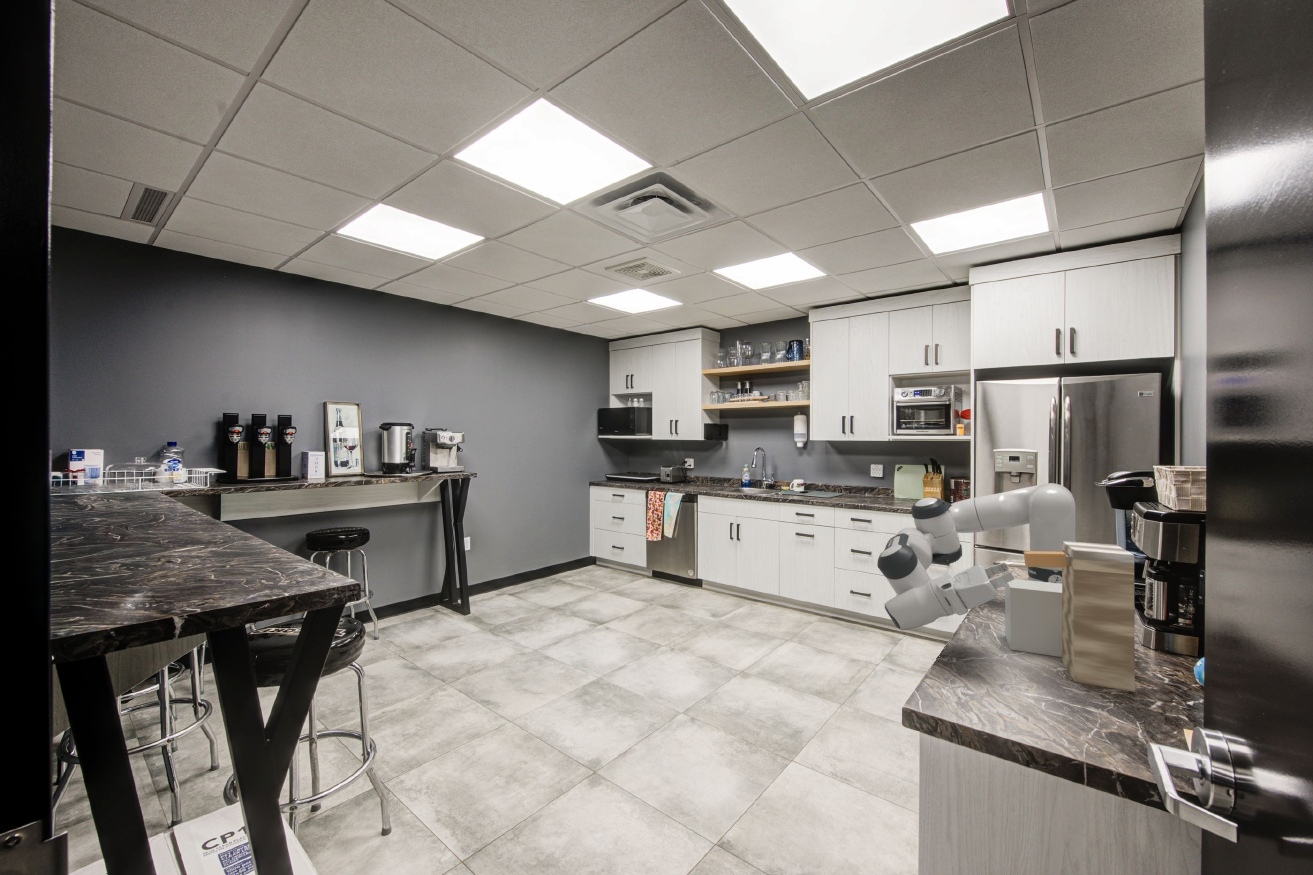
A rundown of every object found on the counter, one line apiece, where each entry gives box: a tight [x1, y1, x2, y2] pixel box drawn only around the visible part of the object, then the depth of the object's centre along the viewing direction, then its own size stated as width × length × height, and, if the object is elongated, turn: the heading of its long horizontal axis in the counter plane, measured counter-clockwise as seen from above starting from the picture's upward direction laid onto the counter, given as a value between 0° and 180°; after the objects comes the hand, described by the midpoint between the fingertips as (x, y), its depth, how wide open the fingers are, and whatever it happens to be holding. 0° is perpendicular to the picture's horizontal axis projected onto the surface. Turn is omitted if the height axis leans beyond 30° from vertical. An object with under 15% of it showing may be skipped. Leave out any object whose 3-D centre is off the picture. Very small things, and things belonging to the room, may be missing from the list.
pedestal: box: [1004, 578, 1062, 658], centre depth 135 cm, size 10×14×16 cm
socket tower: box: [1061, 541, 1136, 693], centre depth 119 cm, size 12×10×28 cm
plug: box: [1023, 550, 1070, 568], centre depth 122 cm, size 3×13×3 cm, turn 63°
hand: (1009, 570), depth 126 cm, fingers open, 8 cm apart
